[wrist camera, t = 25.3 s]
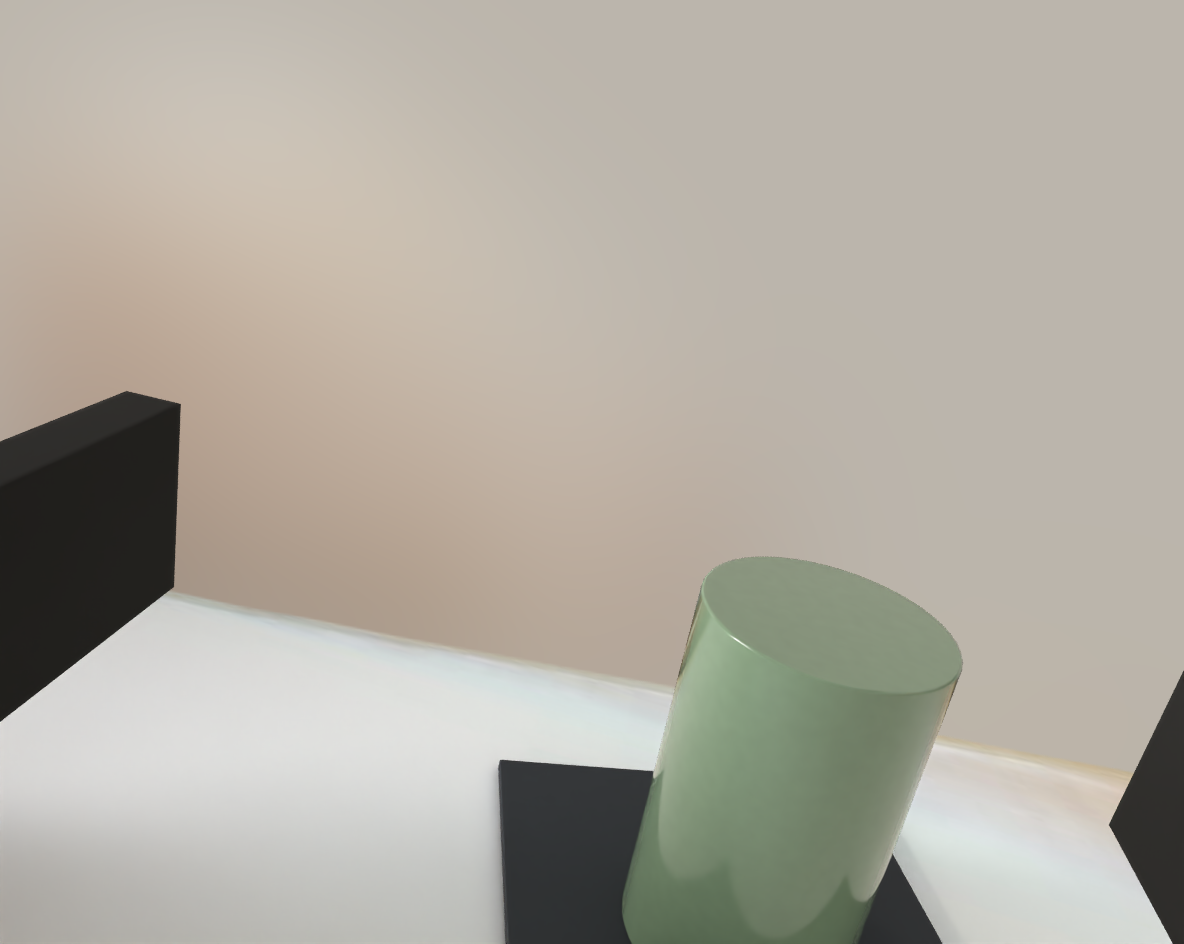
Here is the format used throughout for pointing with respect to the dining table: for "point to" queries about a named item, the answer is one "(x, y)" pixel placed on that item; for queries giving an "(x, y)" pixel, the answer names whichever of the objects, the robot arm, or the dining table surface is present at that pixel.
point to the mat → (613, 858)
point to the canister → (787, 757)
